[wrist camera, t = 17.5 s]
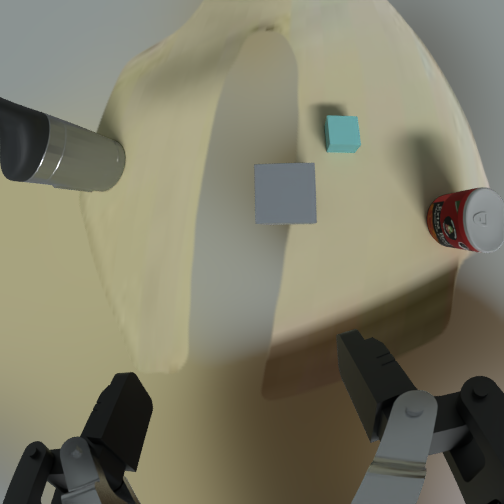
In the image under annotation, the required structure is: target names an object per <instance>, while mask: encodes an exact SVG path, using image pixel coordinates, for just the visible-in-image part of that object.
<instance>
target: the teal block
mask: <svg viewBox="0 0 504 504" xmlns="http://www.w3.org/2000/svg"><path fill="white" fill-rule="evenodd" d="M325 137H326V149H327V152H342V153H355V152H356V151H357V149H358V148H359V147H360V146H361V142H360V133H359V126H358V118H357V117H355V116H327V118H326V122H325Z"/></svg>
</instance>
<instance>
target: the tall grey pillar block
mask: <svg viewBox="0 0 504 504" xmlns="http://www.w3.org/2000/svg"><path fill="white" fill-rule="evenodd" d="M254 168H255V214H256V215H255V218H256V219H255V220H256V224H266V225H269V224H314V223H317V220H316V186H315V165H314V163H279V164H256V165H254Z"/></svg>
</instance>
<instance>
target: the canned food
mask: <svg viewBox="0 0 504 504" xmlns="http://www.w3.org/2000/svg"><path fill="white" fill-rule="evenodd" d="M427 224H428V229H429V231H430V234H431V235H432V237H433V238H434V239H435V240H436V241H437V242H438V243H439V244H441V245H443V246H446V247H452V248H458V249H463V250H469V251H475V252H481V253H491V252H494V251H496V250H497V249H498V248H499V247H500V246H501V245H502V244H503V242H504V202H503V200H502V198H501V197H500V196H499V195H498V193H496V192H495V191H494V190H492V189H490V188H475V189H470V190H465V191H460V192H456V193H451V194H446V195H442V196H440V197H438V198H437V199H436V200H435V201H434V202H433V203H432V204H431V206H430V208H429V210H428V215H427Z"/></svg>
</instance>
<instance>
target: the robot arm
mask: <svg viewBox="0 0 504 504" xmlns="http://www.w3.org/2000/svg"><path fill="white" fill-rule="evenodd" d="M0 163H1V169H2V172H3V174H4V176H5V177H6V178H7V179H9V180H12V181H19V182H30V183H40V184H48V185H53V187H54V188H62V189H69V190H78V191H85V192H92V191H106V190H109V189H110V188H112V187H113V186H114V185H115V184H116V183H117V182H118V180H119V179H120V177H121V175H122V172H123V170H124V165H125V153H124V150H123V147H122V146H121V144H119V143H118V142H116V141H114V140H112V139H109V138H107V137H105V136H103V135H100V134H98V133H95V132H92V131H90V130H87V129H85V128H82V127H80V126H77V125H75V124H72V123H69V122H67V121H64V120H61V119H59V118H56V117H53V116H51V115H48V114H45V113H42V112H39V111H36V110H33V109H30V108H27V107H24V106H22V105H18V104H16V103H13V102H11V101H8V100H6V99H3V98H1V97H0ZM337 350H338V365H339V371H340V374H341V377H342V380H343V382H344V384H345V386H346V389H347V391H348V393H349V395H350V397H351V400H352V402H353V404H354V406H355V409H356V411H357V413H358V415H359V417H360V420H361V422H362V424H363V426H364V429H365V431H366V433H367V436H368V438H369V440H370V442H374V441H377V440H380V442H381V443H380V445H379V448H378V450H377V453H376V455H375V458H374V460H373V462H372V463H371V465H370V466H369V468H368V471H367V473H366V475H365V477H364V479H363V481H362V483H361V485H360V488H359V489H358V491H357V493H356V495H355V497H354V499H353V501H352V503H351V504H416V503H417V500H418V497H419V495H420V492H421V489H422V486H423V483H424V479H425V476H426V468H425V464H426V460H427V457H428V455H432V454H436V453H440V452H443V454H444V456H445V458H446V460H447V462H448V465H449V467H450V469H451V471H452V473H453V475H454V478H455V480H456V482H457V484H458V486H459V489H460V491H461V494H462V496H463V498H464V501H465V503H466V504H504V393H503V392H502V391H501V389H500V388H499V387H498V386H497V385H496V383H495V382H494V381H493V380H491V379H490V378H487V377H484V376H476V377H473V378H470V379H469V380H467V381H466V382H465V383H464V385H463V387H462V388H461V391H460V392H456V393H452V394H447V395H443V396H433V395H431V394H430V393H428V392H426V391H423V390H417V388H416V387H415V386H414V385H413V383H412V382H411V380H410V379H409V378H408V376H407V375H406V373H405V372H404V371H403V369H402V368H401V367H400V365H399V364H398V363H397V361H395V358H394V357H393V356H392V354H390V352H389V350H388V349H387V348H386V346H385V345H384V344H383V343H382V342H380V341H378V340H376V339H375V338H373V337H372V338H369V339H366V340H364V338H363V337H362V336H361V334H360V333H359V331H358V330H357V329H354V330H351V331H347V332H344V333H341V334H338V335H337ZM152 411H153V404H152V400H151V398H150V396H149V395H148V393H147V392H146V390H145V388H144V387H143V386H142V384H141V382H140V380H139V379H138V377H137V375H136V374H135V373H133V372H130V373H117V374H115V376H114V378H113V380H112V382H111V384H110V385H108V387H107V388H106V389H105V390H104V391H103V392H102V393H101V394H100V396H99V398H98V400H97V404H96V405H95V406H94V408H93V411H92V413H91V415H90V417H89V419H88V421H87V423H86V425H85V427H84V430H83V432H82V434H81V436H80V437H72V438H70V439H68V440H67V441H66V442H65V443H64V444H63V445H62V447H61V449H54V450H49V449H48V448H47V447H46V446H45V445H44V444H43V443H42V442H39V441H36V442H33V443H31V444H29V445H28V446H27V447H26V449H25V451H24V453H23V455H22V457H21V459H20V462H19V464H18V466H17V468H16V471H15V473H14V476H13V478H12V480H11V483H10V485H9V488H8V490H7V493H6V496H5V499H4V501H3V504H41V496H42V494H43V491H44V488H45V485H46V482H47V481H48V482H49V483H50V484H51V485H53V486H54V487H55V488H56V490H55V493H54V496H53V499H52V502H51V504H141V503H140V502H139V500H138V498H137V497H136V495H135V493H134V491H133V489H132V487H131V486H130V484H129V482H128V480H127V478H126V477H125V476H124V472H125V471H132V472H136V470H137V466H138V462H139V458H140V454H141V451H142V447H143V443H144V440H145V436H146V432H147V429H148V425H149V421H150V418H151V415H152Z"/></svg>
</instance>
